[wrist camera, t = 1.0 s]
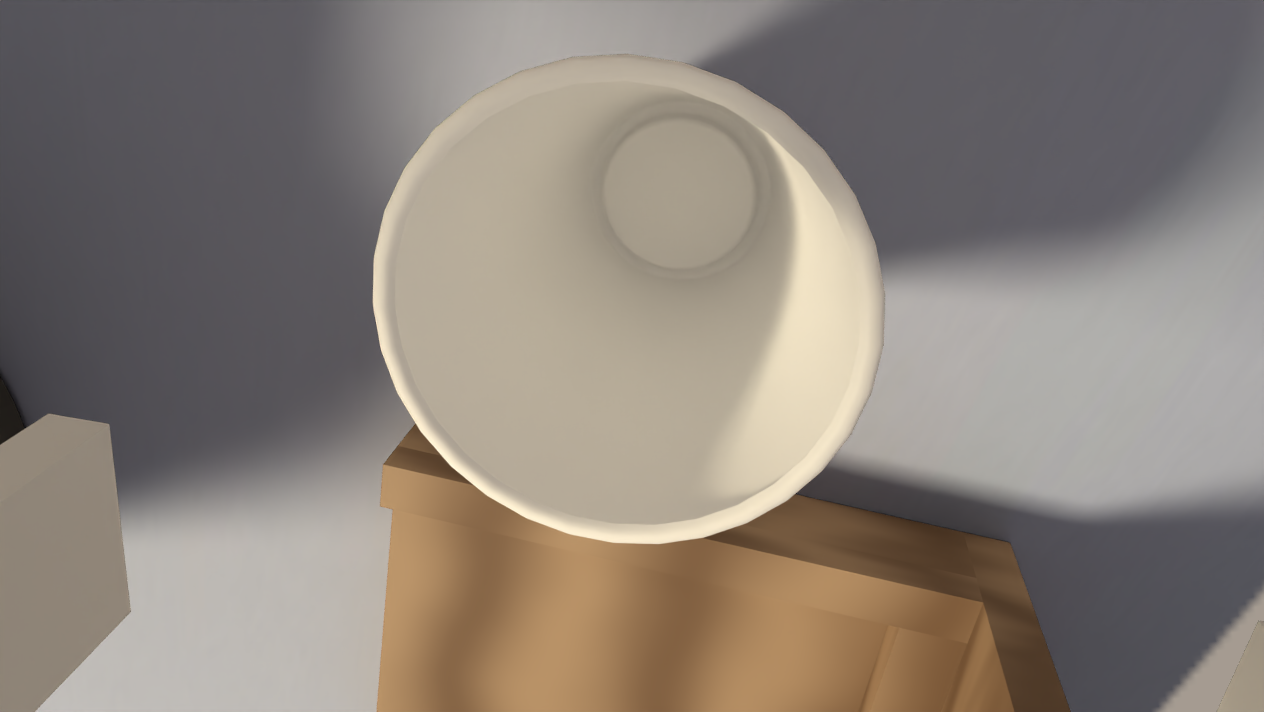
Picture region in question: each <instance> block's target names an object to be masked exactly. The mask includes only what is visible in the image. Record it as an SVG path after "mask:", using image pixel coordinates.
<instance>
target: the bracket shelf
mask: <svg viewBox="0 0 1264 712" xmlns="http://www.w3.org/2000/svg"><path fill="white" fill-rule="evenodd" d="M380 506H381V507H385V508H389V509H393V513H392V525H391V538H390V550H389V563H388V575H387V588H386V600H385V613H384V625H383V638H382V650H381V663H380V675H379V688H378V700H377V712H1071V711H1070V708H1069V706H1068V703H1067V700H1066V697H1065V695H1064V692H1063V689H1062V686H1061V683H1060V681H1059V678H1058V675H1057V672H1056V669H1055V667H1054V664H1053V661H1052V658H1051V655H1050V653H1049V650H1048V647H1047V644H1046V642H1045V639H1044V636H1043V633H1042V630H1041V628H1040V625H1039V622H1038V619H1037V616H1036V614H1035V611H1034V608H1033V605H1032V602H1031V600H1030V597H1029V594H1028V591H1027V589H1026V586H1025V583H1024V580H1023V577H1022V575H1021V572H1020V569H1019V566H1018V563H1017V561H1016V558H1015V555H1014V552H1013V549H1012V547H1011V544H1010V543H1009V542H1004V541H1000V540H996V539H991V538H987V537H982V536H978V535H973V534H969V533H964V532H960V531H956V530H951V529H947V528H942V527H938V526H933V525H929V524H925V523H920V522H916V521H911V520H907V519H902V518H898V517H893V516H889V515H885V514H880V513H876V512H871V511H867V510H862V509H858V508H854V507H849V506H845V505H840V504H836V503H831V502H827V501H822V500H818V499H814V498H809V497H805V496H800V495H796V494H794V495H793V496H792V497H791V498H790V499H789V500H787V501H786V502H784V503H782V504H780V505H779V506H777V507H775V508H773V509H771V510H770V511H768V512H766V513H764V514H763V515H761V516H759V517H757V518H755V519H754V520H752V521H750V522H748V523H746V524H743V525H740V526H737V527H734V528H731V529H728V530H725V531H722V532H719V533H716V534H713V535H710V536H707V537H704V538H698V539H691V540H684V541H677V542H670V543H663V544H635V543H611V542H606V541H601V540H596V539H591V538H586V537H581V536H576V535H571V534H567V533H564V532H562V531H559V530H556V529H554V528H551V527H548V526H546V525H543V524H540V523H538V522H535V521H532V520H530V519H527V518H525V517H523V516H521V515H520V514H518V513H516V512H515V511H513V510H511V509H509V508H508V507H506V506H504V505H502V504H501V503H499V502H497V501H495V500H494V499H492V498H490V497H488V496H487V495H485V494H484V493H483V492H482V491H480V490H479V489H478V488H477V487H476V486H474V485H473V484H472V483H471V482H469V481H468V480H467V479H466V478H465V477H463V476H462V475H461V474H460V473H458V472H457V471H456V470H455V469H454V468H452V467H451V466H450V465H449V463H448V462H447V461H446V460H445V459H444V458H443V457H442V455H441V454H440V453H439V452H438V451H437V450H436V449H435V447H434V446H433V445H432V444H431V443H430V442H429V441H428V439H427V438H426V437H425V436H424V435H423V434H422V433H421V431H420V429H419V428H418V426H417V425H416V424H415V425H414V426H413V427H412V429H411V430H410V431H409V432H408V434H407V435H406V436H405V437H404V439H403V440H402V441H401V442H400V444H399V445H398V446H397V448H396V449H395V450H394V451H393V453H392V454H391V455H390V456H389V458H388V459H387V460H386V461H385V463H384V464H383V472H382V486H381V500H380Z"/></svg>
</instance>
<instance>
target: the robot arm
mask: <svg viewBox="0 0 1264 712" xmlns="http://www.w3.org/2000/svg"><path fill="white" fill-rule="evenodd" d="M130 612H131V609H130V600H129V592H128V583H127V574H126V566H125V557H124V548H123V539H122V531H121V522H120V513H119V504H118V496H117V487H116V478H115V470H114V461H113V452H112V443H111V435H110V426H109V424H107V423H101V422H95V421H89V420H83V419H77V418H72V417H66V416H60V415H54V414H47V415H45V416H44V417H42V418H41V419H39V420H38V421H36V422H35V423H33V424H32V425H30V426H29V427H27V428H25V429H24V426H23V423H22V421H21V418H20V415H19V413H18V411H17V408H16V406H15V404H14V402H13V400H12V398H11V396H10V394H9V392H8V390H7V388H6V386H5V384H4V383H3V381H2V379H1V378H0V712H35V711H36V710H37V709H38V708H39V707H40V706H41V705H42V704H43V703H44V702H45V700H46V699H47V698H48V697H49V696H50V695H51V694H52V693H53V692H54V691H55V690H56V689H57V688H58V687H59V686H60V685H61V684H62V683H63V682H64V681H65V680H66V679H67V678H68V677H69V676H70V674H71V673H72V672H73V671H74V670H75V669H76V668H77V667H78V666H79V665H80V664H81V663H82V662H83V661H84V660H85V659H86V658H87V657H88V656H89V655H90V654H91V653H92V652H93V651H94V650H95V648H96V647H97V646H98V645H99V644H100V643H101V642H102V641H103V640H104V639H105V638H106V637H107V636H108V635H109V634H110V633H111V632H112V631H113V630H114V629H115V628H116V627H117V626H118V625H119V624H120V622H121V621H122V620H123V619H124V618H125V617H126V616H127V615H128V614H129V613H130ZM1217 712H1264V622H1263V621H1258V623H1257V625H1256V627H1255V629H1254V631H1253V634H1252V636H1251V638H1250V640H1249V642H1248V644H1247V647H1246V649H1245V651H1244V653H1243V656H1242V658H1241V660H1240V662H1239V664H1238V666H1237V669H1236V671H1235V673H1234V675H1233V677H1232V679H1231V682H1230V684H1229V686H1228V688H1227V690H1226V692H1225V695H1224V697H1223V699H1222V701H1221V703H1220V705H1219V708H1218V710H1217Z"/></svg>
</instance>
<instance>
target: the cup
mask: <svg viewBox="0 0 1264 712" xmlns="http://www.w3.org/2000/svg"><path fill="white" fill-rule="evenodd" d="M373 308H374V314H375V319H376V325H377V331H378V336H379V342H380V347H381V351H382V354H383V357H384V359H385V362H386V364H387V367H388V370H389V372H390V375H391V378H392V380H393V383H394V385H395V388H396V391H397V393H398V395H399V396H400V398H401V400H402V401H403V403H404V405H405V406H406V408H407V410H408V411H409V413H410V415H411V416H412V418H413V420H414V421H415V423H416V425H417V426H418V428H419V429H420V431H421V433H422V434H423V435H424V436H425V437H426V438H427V439H428V441H429V442H430V443H431V444H432V445H433V446H434V447H435V449H436V450H437V451H438V452H439V453H440V454H441V455H442V457H443V458H444V459H445V460H446V461H447V462H448V463H449V465H450V466H451V467H452V468H454V469H455V470H456V471H457V472H458V473H460V474H461V475H462V476H463V477H465V478H466V479H467V480H468V481H469V482H471V483H472V484H473V485H474V486H476V487H477V488H478V489H479V490H480V491H482V492H483V493H484V494H485V495H487V496H488V497H490V498H492V499H494V500H495V501H497V502H499V503H501V504H502V505H504V506H506V507H508V508H509V509H511V510H513V511H515V512H516V513H518V514H520V515H521V516H523V517H525V518H527V519H530V520H532V521H535V522H538V523H540V524H543V525H546V526H548V527H551V528H554V529H556V530H559V531H562V532H564V533H567V534H571V535H576V536H581V537H586V538H591V539H596V540H601V541H606V542H611V543H635V544H663V543H670V542H677V541H684V540H691V539H698V538H704V537H707V536H710V535H713V534H716V533H719V532H722V531H725V530H728V529H731V528H734V527H737V526H740V525H743V524H746V523H748V522H750V521H752V520H754V519H755V518H757V517H759V516H761V515H763V514H764V513H766V512H768V511H770V510H771V509H773V508H775V507H777V506H779V505H780V504H782V503H784V502H786V501H787V500H789V499H790V498H791V497H792V496H793V495H794V494H796V493H797V492H798V491H799V490H800V489H802V488H803V487H804V486H805V485H806V484H807V483H809V482H810V481H811V480H812V479H813V478H815V477H816V476H817V475H818V474H819V473H820V472H822V471H823V469H824V468H825V467H826V466H827V464H828V463H829V462H830V461H831V459H832V458H833V457H834V455H835V454H836V453H837V452H838V450H839V449H840V448H841V447H842V445H843V444H844V443H845V441H846V440H847V439H848V438H849V436H850V435H851V434H852V431H853V429H854V427H855V425H856V423H857V421H858V419H859V417H860V415H861V413H862V411H863V409H864V407H865V405H866V403H867V401H868V399H869V397H870V395H871V393H872V390H873V386H874V382H875V378H876V374H877V370H878V366H879V362H880V358H881V354H882V350H883V346H884V318H885V291H884V285H883V280H882V274H881V269H880V264H879V258H878V253H877V248H876V243H875V241H874V238H873V236H872V234H871V231H870V229H869V227H868V224H867V222H866V219H865V217H864V215H863V212H862V210H861V207H860V205H859V203H858V200H857V198H856V195H855V194H854V192H853V191H852V190H851V188H850V187H849V185H848V184H847V182H846V181H845V179H844V178H843V177H842V175H841V174H840V172H839V171H838V169H837V168H836V166H835V165H834V164H833V162H832V161H831V159H830V158H829V156H828V155H827V153H826V152H825V150H824V149H823V148H821V147H820V146H819V145H818V144H817V143H816V142H815V141H814V140H813V139H812V138H811V137H810V136H809V135H808V134H807V133H806V132H805V131H804V130H803V129H801V128H800V127H799V126H798V125H797V124H796V123H795V122H794V121H793V120H792V119H791V118H790V117H789V116H788V115H787V114H786V113H785V112H783V111H782V110H780V109H779V108H777V107H775V106H774V105H772V104H771V103H769V102H767V101H766V100H764V99H763V98H761V97H759V96H758V95H756V94H754V93H753V92H751V91H750V90H748V89H746V88H745V87H743V86H742V85H740V84H738V83H737V82H735V81H732V80H729V79H727V78H724V77H721V76H718V75H716V74H713V73H710V72H708V71H705V70H702V69H699V68H697V67H694V66H691V65H689V64H686V63H683V62H678V61H671V60H664V59H658V58H651V57H644V56H638V55H631V54H617V55H599V56H582V57H570V58H567V59H563V60H559V61H556V62H552V63H548V64H545V65H541V66H538V67H534V68H530V69H527V70H523V71H520V72H518V73H516V74H514V75H512V76H510V77H508V78H506V79H504V80H502V81H501V82H499V83H497V84H495V85H493V86H491V87H489V88H487V89H485V90H483V91H481V92H480V93H478V94H476V95H474V96H473V97H472V98H470V99H469V100H468V101H467V102H466V103H464V104H463V105H462V106H461V107H460V108H458V109H457V110H456V111H455V112H454V113H452V114H451V115H450V116H449V117H448V118H446V119H445V120H444V121H443V122H442V123H441V124H439V125H438V126H437V127H436V128H435V129H434V130H433V131H432V133H431V134H430V135H429V137H428V138H427V139H426V140H425V142H424V143H423V144H422V146H421V147H420V148H419V150H418V151H417V152H416V153H415V155H414V156H413V157H412V159H411V160H410V161H409V163H408V164H407V165H406V167H405V168H404V170H403V172H402V174H401V176H400V179H399V181H398V183H397V185H396V187H395V189H394V191H393V194H392V196H391V198H390V200H389V202H388V204H387V206H386V209H385V211H384V215H383V219H382V223H381V228H380V232H379V236H378V241H377V245H376V249H375V254H374V270H373Z"/></svg>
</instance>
